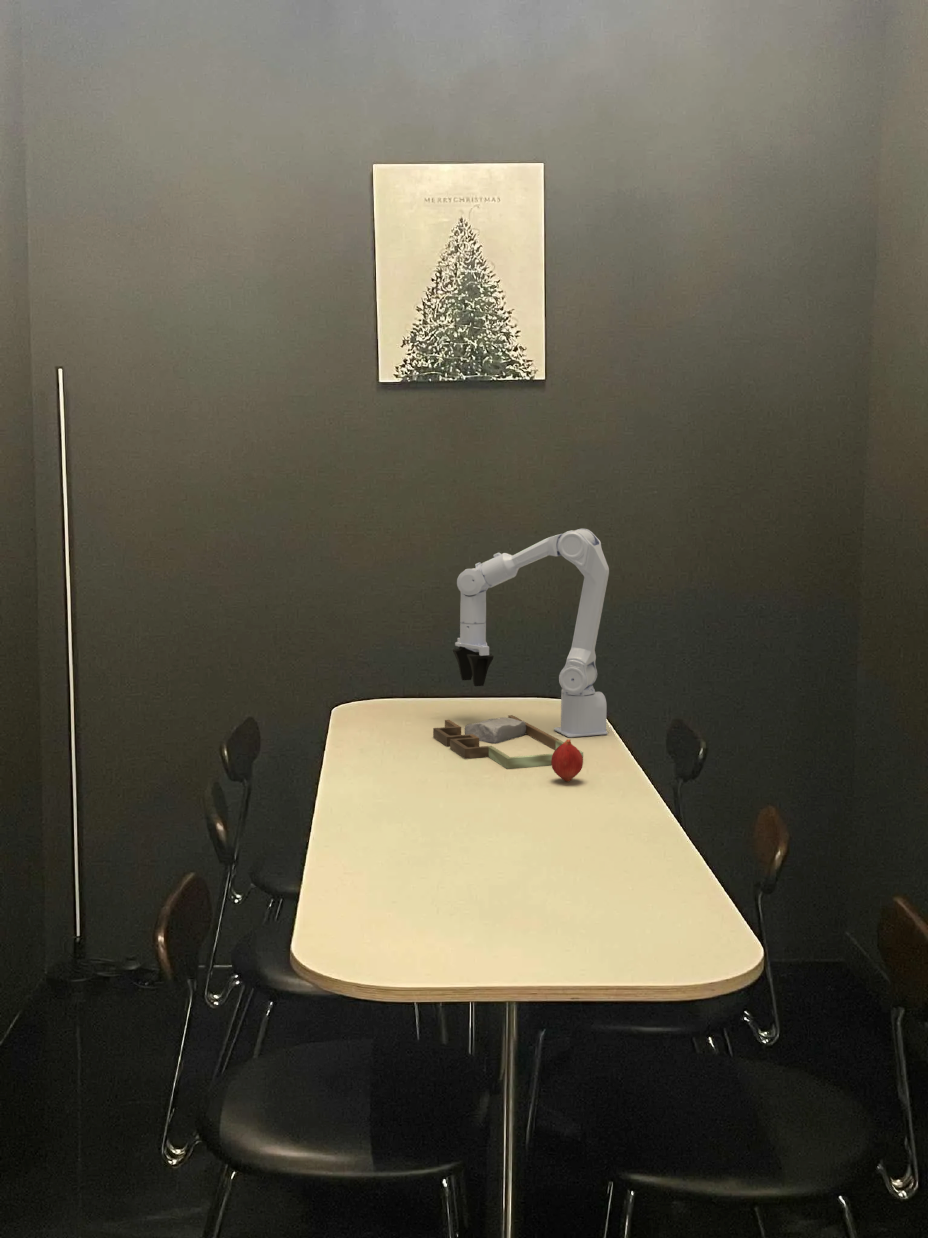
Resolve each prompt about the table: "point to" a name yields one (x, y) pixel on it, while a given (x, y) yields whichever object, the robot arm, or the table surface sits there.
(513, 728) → the stone block
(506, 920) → the table surface
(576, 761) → the onion
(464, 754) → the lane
